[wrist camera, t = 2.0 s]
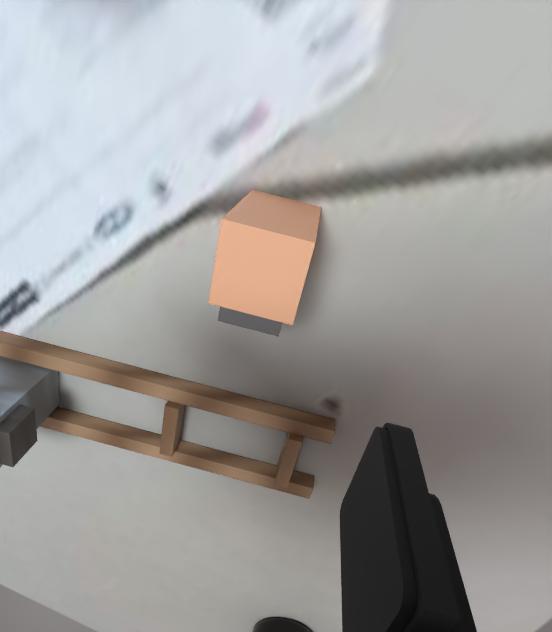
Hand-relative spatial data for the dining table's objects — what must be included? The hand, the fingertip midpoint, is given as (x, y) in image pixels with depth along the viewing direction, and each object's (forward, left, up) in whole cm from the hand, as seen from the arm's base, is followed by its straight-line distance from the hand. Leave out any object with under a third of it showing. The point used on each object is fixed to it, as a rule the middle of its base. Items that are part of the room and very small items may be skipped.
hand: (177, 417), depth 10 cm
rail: (+8, +16, -16) cm, 24 cm away
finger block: (0, 0, -16) cm, 16 cm away
